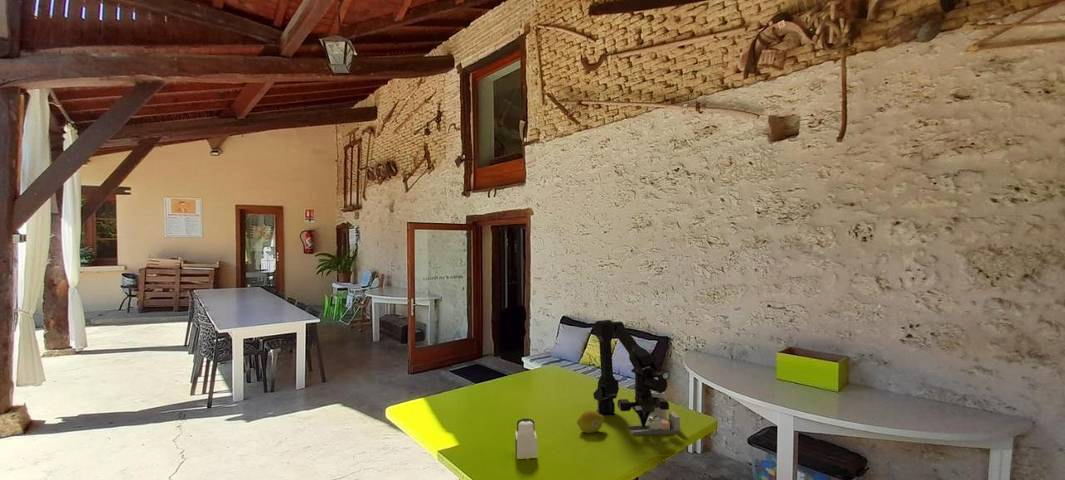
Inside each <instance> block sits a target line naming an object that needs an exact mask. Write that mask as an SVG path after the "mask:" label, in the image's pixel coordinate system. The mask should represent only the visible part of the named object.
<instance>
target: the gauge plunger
mask: <svg viewBox="0 0 1065 480" xmlns="http://www.w3.org/2000/svg"><path fill="white" fill-rule="evenodd" d="M645 425H646V430H647V431H651V430H662V420H661V419H660V418H659V417H657V416H649V417H648V419H647V421H646V424H645Z"/></svg>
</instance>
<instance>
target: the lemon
mask: <svg viewBox="0 0 1065 480" xmlns="http://www.w3.org/2000/svg"><path fill="white" fill-rule="evenodd" d="M604 423H605V416H603V415H601V414H599V413H598V412H597V411H594V410H586V411H583V412H582V413H581V414H580V415H579V417H578V420H577V421H576V424H577V425H578V427H579V428H580V430H581V431H582V432H584V433H586V434H593V433H596V432H598V431H600V429H601V428H602V426H603V425H604Z"/></svg>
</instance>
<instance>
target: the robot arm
mask: <svg viewBox="0 0 1065 480" xmlns="http://www.w3.org/2000/svg"><path fill="white" fill-rule="evenodd" d="M593 328H594V335H595V337H596V339H597V340H598V342H599V358H600V359H599V360H600V361H599V362H600V377H599V379H598V382H597V388H596V389H595V391H594V392H593V393H592V394H593V399H594V400H596V401H597V403H596V405H597V407H596V408H597V409H596V412H597V413H599V414H601V415H603V416H604V417H605V416H615V411H616V409H615V408H616V407H615V406H616V405H617V407H618V409H619V411H621V412H630V411H631V410H632V411H634V412H635V413H636V415H637V417H638V419H639V422H640V425H642V427H645V425H646V421H647V419H648V416H649V414H650V413H651V412H654V411H655V408H658V407H659V408H660V409H661V410H667V411H668V410H669V409H670V403H669V402H668V400H667V401H666V400H665V399H664V398H659V397H652V393H651V390H653V391H656V392H658V393H663V392H664V391H666V390H667V389H668V380H667V379H666V378H665V377H664V375H663V373H660V372H659V369H658V365H657V364H656V362H655V360H654V357H653V355H652V354H651V353H650V352H649V351H648V350H647V349H645V348H644V347H641V346H640V345H639V344H638V342H637V341H636V340H635V339H634V337H633V336H632V334H631V333H630V332H629V331H628V329H627V328H626V326H625V324H624V322H623V321H612V320H611V319H604V320H601V319H600V320H596V322H595V323H594V324H593ZM614 336H616V337H617V339H618V341H619V342H620V344H621V345H622V346H623V348H625V349H624V350H626V351H627V353H628V360H629V361H630V363H631V365H632V367H633V368H632V369H631V370H630V372H631V373H634V393H635V394H634V401H629V399H627V398H624V399H623V398H622V399H621V398H620V399H618V400H617V402H616V403H617V404H616V405H615V402H614V399H617V397H618V393H619V390H620V387H619V379H616V378H615V376H614V370H613V369H614V368H613V367H614V366H613V351H612V340H613V339H614V338H613V337H614Z"/></svg>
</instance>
